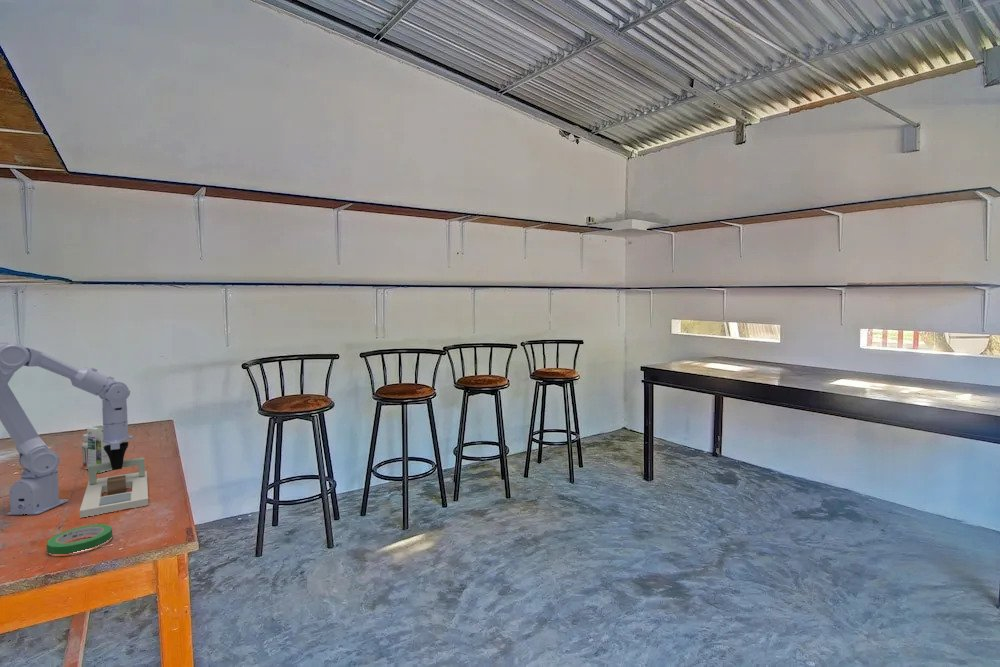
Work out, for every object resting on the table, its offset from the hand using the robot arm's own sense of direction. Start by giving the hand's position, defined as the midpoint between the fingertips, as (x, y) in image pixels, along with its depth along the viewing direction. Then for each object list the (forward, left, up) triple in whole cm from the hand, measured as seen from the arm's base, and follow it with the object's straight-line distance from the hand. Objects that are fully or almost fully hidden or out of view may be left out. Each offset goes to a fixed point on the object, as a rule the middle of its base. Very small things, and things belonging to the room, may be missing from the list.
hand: (117, 469), depth 148 cm
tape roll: (-37, -19, -6) cm, 42 cm away
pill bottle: (+22, +24, -6) cm, 33 cm away
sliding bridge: (+2, +1, -4) cm, 4 cm away
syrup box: (+18, +19, -6) cm, 27 cm away
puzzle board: (-6, -4, -6) cm, 9 cm away
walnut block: (-6, -4, -6) cm, 9 cm away
